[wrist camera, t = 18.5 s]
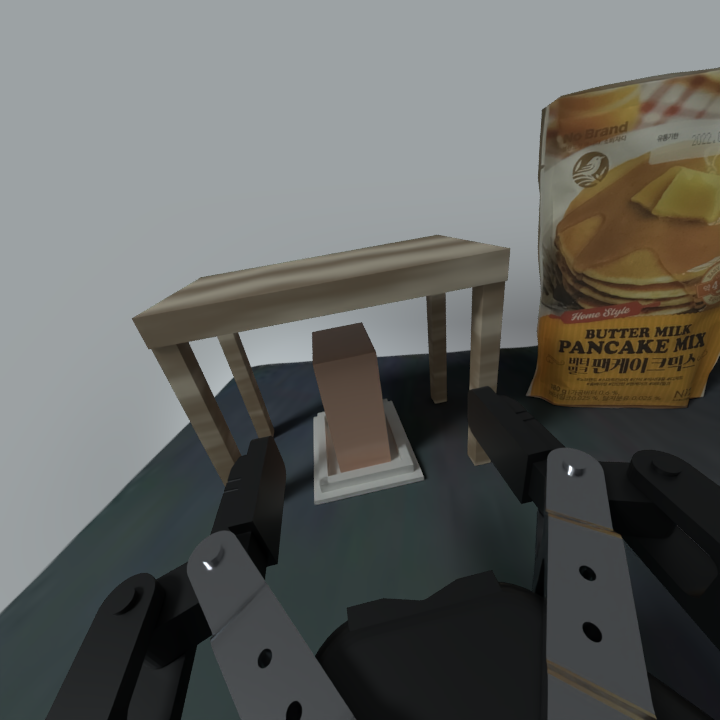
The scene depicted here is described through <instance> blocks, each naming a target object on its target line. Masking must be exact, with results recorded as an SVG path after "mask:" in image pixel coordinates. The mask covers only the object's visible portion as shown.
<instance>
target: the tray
mask: <svg viewBox="0 0 720 720" xmlns="http://www.w3.org/2000/svg"><path fill="white" fill-rule="evenodd" d="M383 406H384V413H385V420H386V428H387V435H388V442H389V449H390V456H391V462H386V463H382V464H378V465H373V466H369V467H365V468H360V469H356V470H352V471H347V472H343V473H341V472H340V468H339V464H338V461H337V457H336V453H335V449H334V445H333V441H332V437H331V433H330V430H329V426H328V422H327V418H326V414H325V412H321V413H318V417H314V502H315V505H318V504H323V503H327V502H331V501H336V500H340V499H344V498H349V497H353V496H357V495H362V494H366V493H370V492H375V491H379V490H383V489H388V488H392V487H396V486H401V485H405V484H409V483H414V482H418V481H422V480H424V476H423V473H422V471H421V469H420V466H419V464H418V461H417V459H416V457H415V454H414V452H413V450H412V447H411V445H410V442H409V440H408V438H407V435H406V433H405V431H404V428H403V426H402V424H401V421H400V419H399V416H398V414H397V412H396V409H395V407H394V405H393V402H392V401H388V400H387V399H383Z"/></svg>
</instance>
